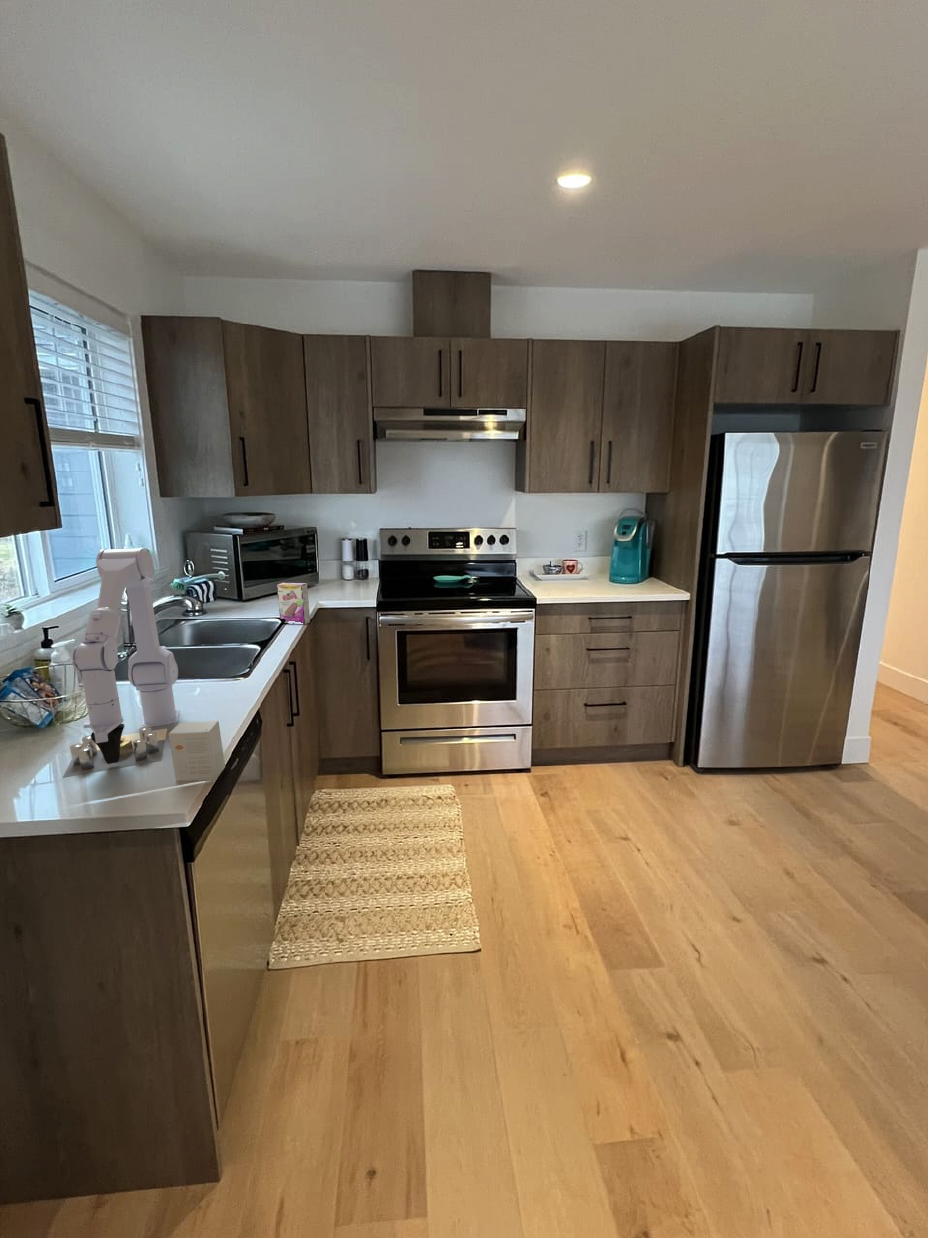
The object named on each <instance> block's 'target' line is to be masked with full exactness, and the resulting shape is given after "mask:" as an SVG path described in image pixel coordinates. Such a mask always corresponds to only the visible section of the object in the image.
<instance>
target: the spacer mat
mask: <svg viewBox="0 0 928 1238" xmlns="http://www.w3.org/2000/svg"><path fill="white" fill-rule="evenodd" d="M151 732H156V733H157V739H158V745H159V751H158V752H156V753H152V754H148V753H147V755H148V758H147V759H145V760H142V761H136V760H135V755H134V749H133V752H131V753H130V754H128V755H127V756H125V757H121V758H119V761H118V762H117V763H111V764H107V763H106V761H105V759H104V757H103V754H102V752H101V750H100V748H99V747H98V746H97V744H96V746H97V752H98V754H97V755H95V756H93V760H94V765H95V766H94V767H93V768H92V769H89V770H82V769H81V765H80V766H74V765H73V761H72V759H71V760H70V762H69V765H67V767H66V770H65V772H64V774H63V775H62V778H63V779H64V778H69V777H74V776H75V777H76V776H80V775H87V774H93V773H98V772H104V771H109V770H116V769H122V768H128V767H134V766H139V765H145V764H151V763H155V762H161V761H162V758H163V753H164V749H165V748H164V747H165V743H166V738H167V734H168V733H167V732H168V728H162V729H161V728H160V729H154V730H151ZM125 737H126V738H128V739H130V740H132V742H133V741H134V740H137V739H140V735H139V732H134V733H129V734H123V735H121V738H125ZM80 743H82V744H83V742H82V741H80ZM132 746H133V743H132Z"/></svg>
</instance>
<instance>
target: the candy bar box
mask: <svg viewBox="0 0 928 1238" xmlns="http://www.w3.org/2000/svg"><path fill="white" fill-rule="evenodd" d="M276 588H277V599H278V601H277V602H278V610H279V620H280V619H285V620H288V621H295V622H301V623H303V624H304V625H303V626H305V625H308V624H310V623H311V613H310V603H309V592H308V583H305V582H304V583H303V582H281V583H278V584H276Z"/></svg>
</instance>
